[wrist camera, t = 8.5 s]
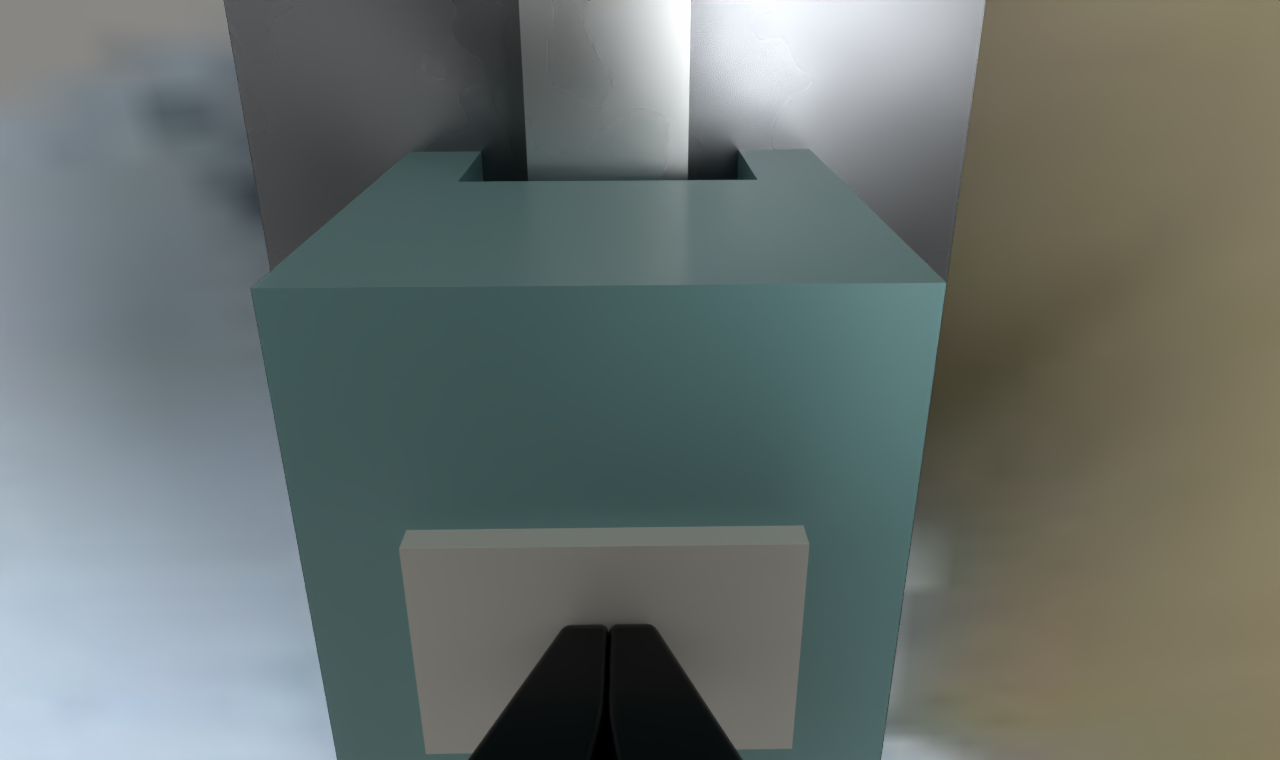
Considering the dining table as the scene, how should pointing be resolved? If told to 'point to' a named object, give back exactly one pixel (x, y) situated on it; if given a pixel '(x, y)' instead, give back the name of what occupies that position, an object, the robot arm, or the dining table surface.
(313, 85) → the plate
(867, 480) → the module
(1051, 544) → the dining table surface
